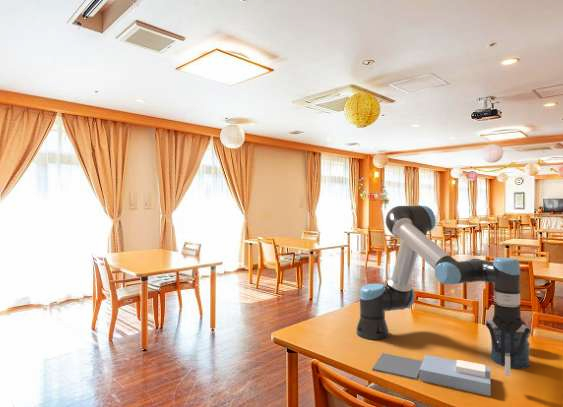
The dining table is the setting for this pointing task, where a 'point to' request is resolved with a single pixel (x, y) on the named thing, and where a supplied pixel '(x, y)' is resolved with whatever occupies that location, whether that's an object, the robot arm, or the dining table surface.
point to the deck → (453, 375)
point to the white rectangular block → (470, 368)
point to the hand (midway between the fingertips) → (507, 374)
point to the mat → (398, 366)
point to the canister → (520, 360)
